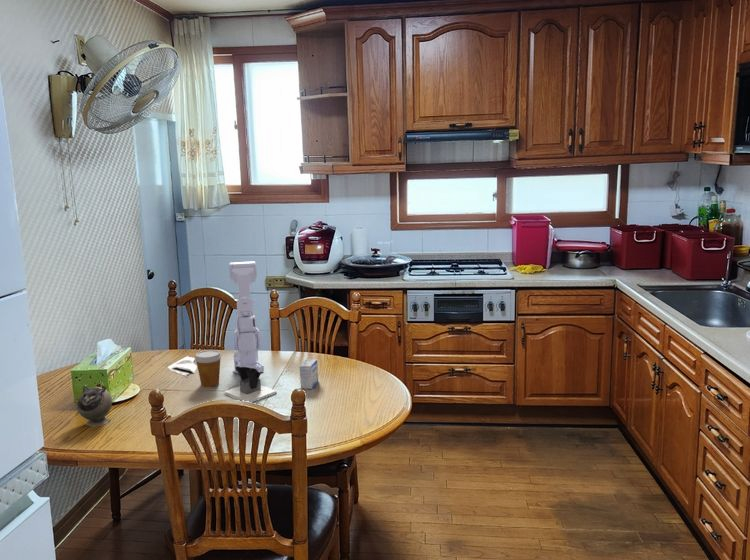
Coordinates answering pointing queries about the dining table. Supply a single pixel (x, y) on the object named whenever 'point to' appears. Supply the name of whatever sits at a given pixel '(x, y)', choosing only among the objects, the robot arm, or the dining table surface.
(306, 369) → the medicine box
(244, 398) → the board
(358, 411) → the dining table surface
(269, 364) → the dining table surface
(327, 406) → the dining table surface
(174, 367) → the cloth
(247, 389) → the block
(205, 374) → the disposable coffee cup
